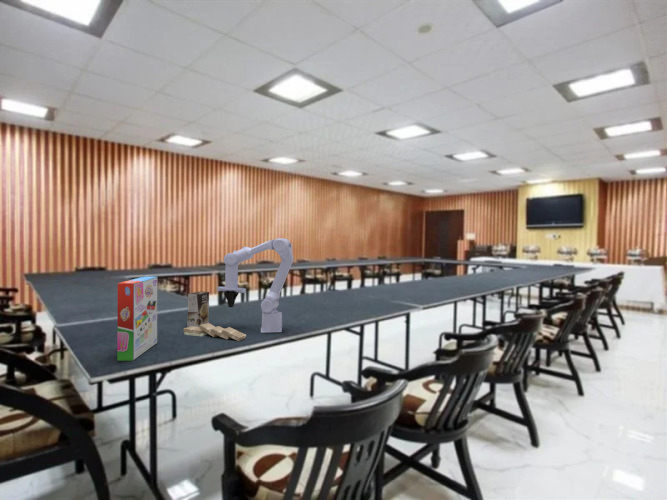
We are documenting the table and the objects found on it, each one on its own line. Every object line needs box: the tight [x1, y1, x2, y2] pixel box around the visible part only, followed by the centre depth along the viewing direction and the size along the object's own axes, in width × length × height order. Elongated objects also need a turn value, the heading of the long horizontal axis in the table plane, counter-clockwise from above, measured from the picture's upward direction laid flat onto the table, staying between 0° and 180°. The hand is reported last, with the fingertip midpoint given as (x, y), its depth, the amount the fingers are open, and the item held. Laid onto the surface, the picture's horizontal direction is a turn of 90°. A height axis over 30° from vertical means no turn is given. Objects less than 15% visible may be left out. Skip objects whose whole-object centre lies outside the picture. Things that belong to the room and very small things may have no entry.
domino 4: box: [211, 325, 232, 341], centre depth 155 cm, size 2×5×9 cm
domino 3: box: [200, 322, 219, 338], centre depth 158 cm, size 2×5×9 cm
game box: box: [116, 275, 158, 362], centre depth 133 cm, size 21×6×27 cm, turn 5°
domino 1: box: [183, 326, 206, 334], centre depth 160 cm, size 2×5×9 cm
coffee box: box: [186, 291, 210, 327], centre depth 175 cm, size 9×6×16 cm
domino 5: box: [222, 326, 247, 342], centre depth 153 cm, size 2×5×9 cm
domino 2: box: [183, 332, 209, 337], centre depth 159 cm, size 2×5×9 cm
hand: (231, 307), depth 170 cm, fingers closed
